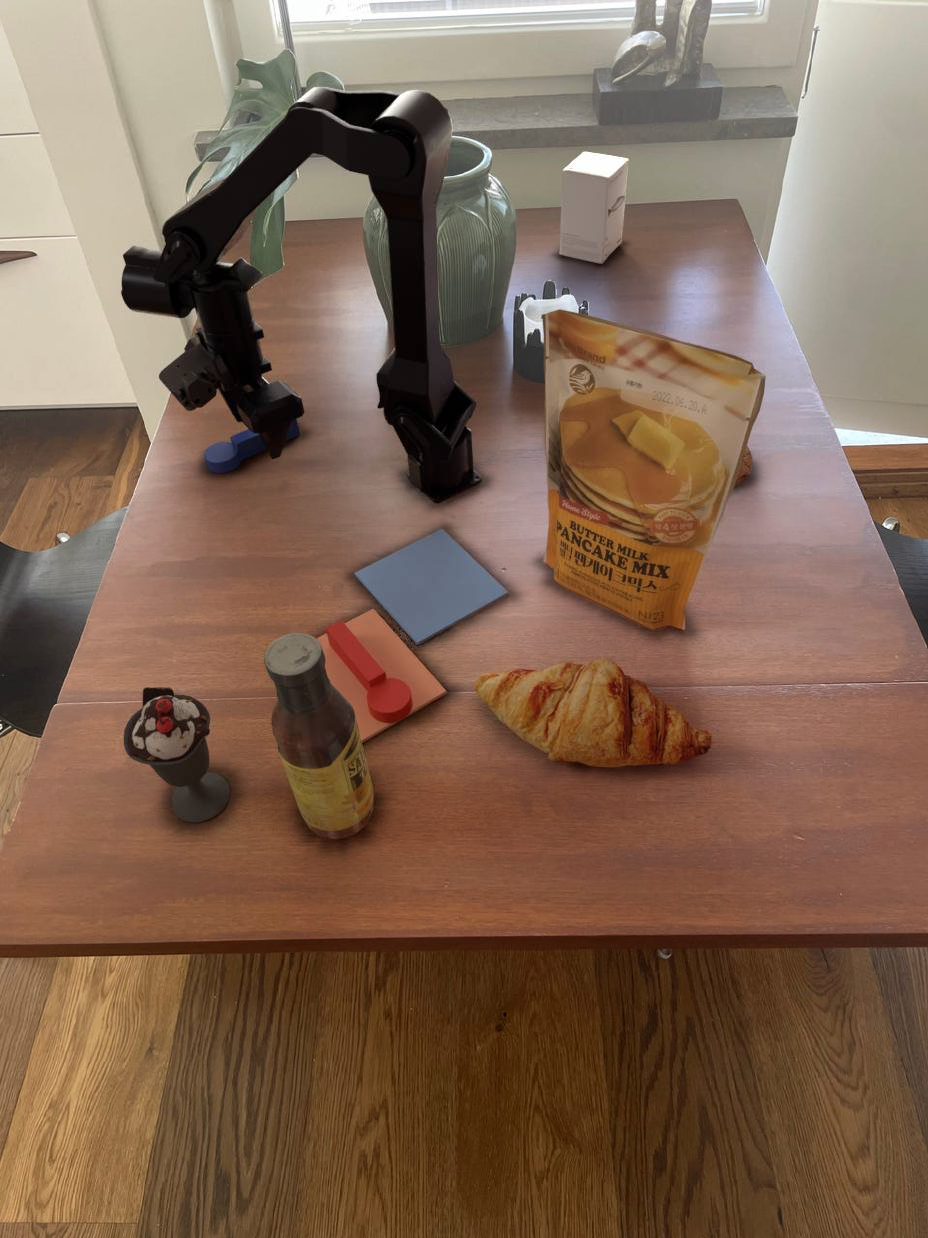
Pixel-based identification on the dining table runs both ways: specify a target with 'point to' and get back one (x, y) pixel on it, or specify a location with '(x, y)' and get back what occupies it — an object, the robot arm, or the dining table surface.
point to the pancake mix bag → (639, 460)
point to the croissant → (591, 715)
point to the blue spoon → (238, 449)
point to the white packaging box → (592, 206)
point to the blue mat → (430, 585)
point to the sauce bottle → (318, 740)
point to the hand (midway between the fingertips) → (258, 438)
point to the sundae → (177, 751)
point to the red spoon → (371, 676)
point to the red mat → (392, 661)
